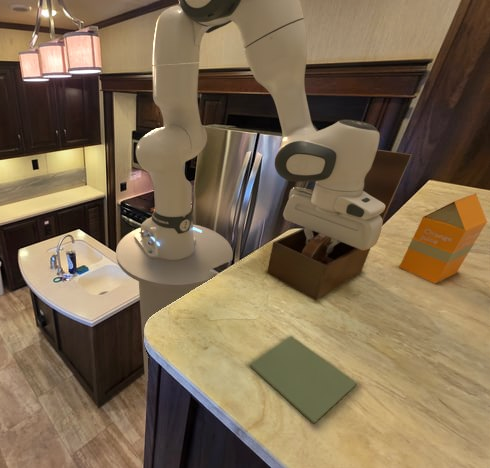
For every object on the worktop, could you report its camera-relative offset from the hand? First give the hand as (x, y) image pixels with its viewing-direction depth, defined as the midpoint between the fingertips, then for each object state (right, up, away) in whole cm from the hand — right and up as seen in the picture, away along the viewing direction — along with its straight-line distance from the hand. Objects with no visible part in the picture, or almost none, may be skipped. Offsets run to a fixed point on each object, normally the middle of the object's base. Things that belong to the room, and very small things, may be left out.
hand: (318, 247), depth 72 cm
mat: (-17, -22, -21) cm, 35 cm away
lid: (+8, +14, -2) cm, 16 cm away
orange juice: (+28, -6, +1) cm, 29 cm away
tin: (0, -4, +3) cm, 5 cm away
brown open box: (+1, -7, +3) cm, 8 cm away
